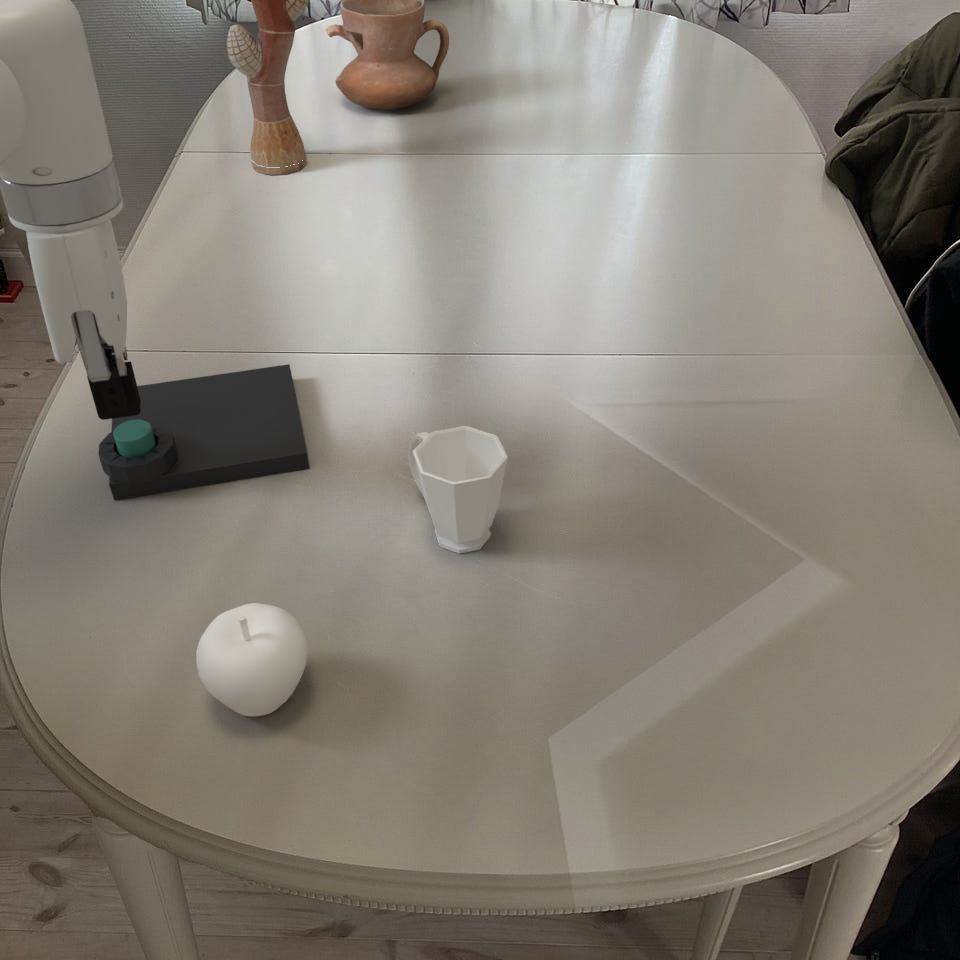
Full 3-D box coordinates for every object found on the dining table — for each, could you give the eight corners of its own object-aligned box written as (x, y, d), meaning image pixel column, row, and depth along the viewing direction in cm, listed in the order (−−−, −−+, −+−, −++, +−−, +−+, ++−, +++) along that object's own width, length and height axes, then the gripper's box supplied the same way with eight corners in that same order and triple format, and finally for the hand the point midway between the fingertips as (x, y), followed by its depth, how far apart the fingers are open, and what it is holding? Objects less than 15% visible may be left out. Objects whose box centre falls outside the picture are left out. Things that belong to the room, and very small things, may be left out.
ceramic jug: (335, 122, 148) (324, 18, 139) (331, 88, 159) (321, -9, 150) (457, 114, 150) (455, 11, 141) (445, 81, 161) (442, -16, 152)
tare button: (117, 461, 82) (112, 443, 81) (118, 439, 84) (113, 422, 83) (155, 455, 82) (151, 437, 81) (155, 433, 85) (151, 416, 84)
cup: (453, 579, 76) (450, 497, 70) (378, 510, 82) (370, 430, 77) (526, 538, 79) (527, 457, 74) (448, 475, 85) (445, 396, 80)
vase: (244, 176, 133) (201, -81, 114) (252, 154, 139) (213, -94, 120) (324, 174, 134) (295, -82, 114) (329, 152, 139) (302, -95, 120)
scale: (108, 504, 83) (97, 471, 80) (112, 405, 93) (103, 373, 91) (310, 471, 86) (305, 438, 83) (291, 379, 96) (286, 347, 94)
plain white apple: (201, 740, 65) (175, 658, 60) (214, 655, 70) (191, 572, 65) (311, 732, 65) (295, 649, 60) (316, 648, 71) (301, 565, 65)
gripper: (14, 155, 74) (76, 369, 86) (-10, 243, 63) (65, 475, 74) (121, 146, 76) (168, 357, 87) (116, 230, 64) (170, 460, 76)
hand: (120, 411), depth 81 cm, fingers closed
